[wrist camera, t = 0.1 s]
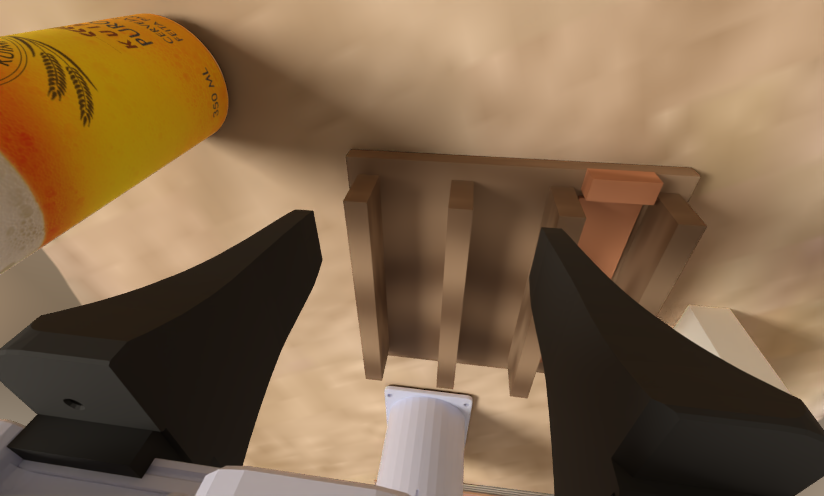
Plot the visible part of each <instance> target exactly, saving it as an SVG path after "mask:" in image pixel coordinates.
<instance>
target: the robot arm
mask: <svg viewBox="0 0 824 496" xmlns="http://www.w3.org/2000/svg"><path fill="white" fill-rule="evenodd" d="M321 263H322V255H321V249H320V244H319V238H318V233H317V228H316V222H315V217H314V212H313V211H309V210H294V211H292V212H290V213H288V214H286V215H284V216H283V217H281V218H280V219H278V220H276V221H275V222H273V223H271V224H270V225H268V226H267V227H265V228H263V229H262V230H260V231H259V232H257V233H255V234H254V235H252V236H250V237H249V238H247V239H246V240H244V241H242V242H240V243H239V244H237V245H235V246H233V247H231V248H230V249H228V250H226V251H224V252H223V253H221V254H219V255H217V256H215V257H213V258H211V259H209V260H207V261H205V262H203V263H201V264H199V265H197V266H195V267H192V268H190V269H188V270H186V271H184V272H181V273H179V274H176V275H174V276H171V277H169V278H166V279H163V280H161V281H158V282H156V283H153V284H151V285H148V286H145V287H142V288H139V289H136V290H133V291H130V292H127V293H124V294H121V295H118V296H114V297H111V298H108V299H105V300H101V301H97V302H94V303H90V304H86V305H82V306H79V307H74V308H70V309H66V310H63V311H59V312H54V313H50V314H46V315H41V316H40V317H39V318H37V319H36V320H34V321H33V322H32V323H31V324H30V325H29V326H27V327H26V328H25V329H24V330H22V331H21V332H20V333H19V334H17V335H16V336H15V337H14V338H13V339H12V340H10V341H9V342H8V343H6V344H5V345H4V346H3V347H2V348H0V381H1V382H2V383H3V384H4V385H5V386H6V387H7V388H8V389H10V390H11V391H12V392H13V393H14V394H15V395H16V396H17V397H18V398H19V399H21V400H22V401H23V402H24V403H25V404H26V405H27V406H28V407H30V408H31V409H32V410H33V411H34V412H35V413H36V414H37V415H36V416H35V417H34V419H33V420H32V421H31V422H30V423H29V424H28V425H27V426H24V425H22V424H19V423H17V422H14V421H10V420H4V419H0V496H463V473H464V448H465V443H466V437H467V432H468V426H469V420H470V414H471V408H472V403H473V399H472V397H471V396H469V395H462V394H454V393H445V392H437V391H429V390H421V389H413V388H404V387H396V386H387V387H385V403H386V415H387V431H386V436H385V441H384V446H383V451H382V457H381V462H380V467H379V472H378V477H377V483H376V485H371V484H365V483H358V482H351V481H345V480H338V479H331V478H325V477H318V476H312V475H305V474H298V473H292V472H285V471H278V470H272V469H265V468H258V467H252V466H243V462H244V459H245V455H246V452H247V448H248V445H249V441H250V438H251V435H252V432H253V429H254V426H255V422H256V419H257V416H258V413H259V410H260V407H261V404H262V401H263V398H264V395H265V393H266V390H267V387H268V384H269V381H270V378H271V376H272V373H273V370H274V368H275V365H276V363H277V360H278V357H279V355H280V352H281V350H282V348H283V346H284V343H285V341H286V339H287V337H288V335H289V333H290V331H291V329H292V328H293V326H294V324H295V322H296V320H297V318H298V316H299V314H300V312H301V310H302V308H303V306H304V304H305V302H306V300H307V298H308V296H309V295H310V293H311V291H312V288H313V286H314V284H315V281H316V278H317V276H318V273H319V270H320V266H321ZM529 288H530V302H531V309H532V314H533V319H534V324H535V329H536V334H537V338H538V343H539V348H540V353H541V357H542V362H543V367H544V373H545V379H546V387H547V397H548V407H549V418H550V431H551V443H552V459H553V475H554V494H555V496H795V495H797V494H798V493H799V492H801V491H803V490H804V489H805V488H807V487H808V486H810V485H811V484H813V483H815V482H816V481H817V480H819V479H820V478H822V477H823V476H824V430H823V428H822V427H821V426H820V424H819V423H818V422H817V420H816V419H815V418H814V416H813V415H812V413H811V412H810V411H809V409H808V408H807V407H806V405H805V404H804V403H803V402H802V400H801V399H798V398H796V397H794V396H792V395H790V394H788V393H786V392H784V391H782V390H780V389H778V388H776V387H774V386H772V385H770V384H768V383H766V382H764V381H762V380H760V379H758V378H756V377H754V376H752V375H750V374H748V373H746V372H744V371H742V370H741V369H739V368H737V367H735V366H733V365H732V364H730V363H728V362H726V361H725V360H723V359H721V358H719V357H717V356H716V355H714V354H712V353H710V352H709V351H707V350H705V349H704V348H702V347H701V346H699V345H697V344H696V343H694V342H692V341H691V340H689V339H688V338H686V337H685V336H683V335H682V334H680V333H679V332H677V331H676V330H674V329H673V328H671V327H670V326H668V325H667V324H665V323H664V322H662V321H661V320H660V319H658V318H657V317H655V316H654V315H653V314H652V313H650V312H649V311H648V310H646V309H645V308H644V307H642V306H641V305H640V304H639V303H637V302H636V301H635V300H634V299H632V298H631V297H630V296H629V295H628V294H626V293H625V292H624V291H623V290H622V289H621V288H620V287H619V286H618V285H616V284H615V283H614V282H613V281H612V280H611V279H610V278H609V277H608V276H607V275H606V274H605V273H604V272H603V271H602V270H601V269H600V268H599V267H598V266H597V265H596V264H595V263H594V262H593V261H592V260H591V259H590V258H589V257H588V256H587V255H586V254H585V253H584V252H583V251H582V250H581V248H580V247H579V246H578V245H577V244H576V243H575V242H574V241H573V240H572V239H571V237H570V236H569V235H568V234H567V233H566V232H565V231H564V230H563V229H562V228H548V227H541V230H540V234H539V238H538V243H537V247H536V251H535V255H534V259H533V263H532V267H531V271H530V275H529Z"/></svg>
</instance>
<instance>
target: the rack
mask: <svg viewBox="0 0 824 496" xmlns="http://www.w3.org/2000/svg"><path fill="white" fill-rule="evenodd" d="M346 162H347V171H348V180H349V189H350V190H349V192H348V193H347V195H346V197H345V199H344V201H343V203H344V211H345V218H346V226H347V234H348V242H349V250H350V258H351V266H352V273H353V281H354V289H355V297H356V305H357V313H358V320H359V328H360V336H361V344H362V352H363V360H364V368H365V375H366V379H372V380H381V381H382V378H383V374H384V369H385V365H386V361H387V356H388V355H390V356H399V357H408V358H417V359H425V360H434V361H438V372H437V387H439V388H447V389H453V387H454V378H455V369H456V363H461V364H470V365H478V366H487V367H496V368H505V369H508V375H509V389H510V396H513V397H521V398H528V395H529V392H530V389H531V386H532V383H533V380H534V377H535V374H536V372H540V373H544V367H543V362H542V357H541V353H540V348H539V343H538V338H537V334H536V329H535V324H534V319H533V314H532V309H531V302H530V288H529V275H530V271H531V267H532V263H533V259H534V255H535V251H536V247H537V243H538V238H539V234H540V230H541V227H548V228H562V229H563V230H564V231H565V232H566V233H567V234H568V235H569V236H570V237H571V239H572V240H573V241H574V242H575V243H576V244H577V245H578V246H579V247H580V248H581V250H582V251H583V252H584V253H585V254H586V255H587V256H588V257H589V258H590V259H591V260H592V261H593V262H594V263H595V264H596V265H597V266H598V267H599V268H600V269H601V270H602V271H603V272H604V273H605V274H606V275H607V276H608V277H609V278H610V279H611V280H612V281H613V282H614V283H615V284H616V285H618V286H619V287H620V288H621V289H622V290H623V291H624V292H625V293H626V294H628V295H629V296H630V297H631V298H632V299H634V300H635V301H636V302H637V303H639V304H640V305H641V306H642V307H644V308H645V309H646V310H648V311H649V312H650V313H652V314H653V315H654V316H655V317H656V316H657V314H658V313H659V311H660V309H661V307H662V305H663V304H664V302H665V300H666V298H667V297H668V295H669V293H670V291H671V290H672V288H673V286H674V284H675V282H676V281H677V279H678V277H679V275H680V274H681V272H682V270H683V268H684V266H685V265H686V263H687V261H688V259H689V258H690V256H691V254H692V252H693V250H694V249H695V247H696V245H697V243H698V242H699V240H700V238H701V236H702V234H703V233H704V231H705V229H706V227H707V226H706V224H705V223H704V222H703V221H702V220H701V219H700V217H699V216H698V215H697V214H696V213H695V212H694V210H693V209H692V208H691V207H690V206H689V205H688V201H689V199H690V197H691V195H692V193H693V191H694V189H695V187H696V185H697V183H698V181H699V179H700V177H701V176H700V175H699V174H698V173H697V172H696V171H695V170H693V169H692V168H687V167H668V166H650V165H631V164H613V163H594V162H576V161H557V160H539V159H520V158H502V157H483V156H465V155H446V154H428V153H409V152H391V151H372V150H354V149H351V150H350V151H349V153H348V154H347V156H346Z"/></svg>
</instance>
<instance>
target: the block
mask: <svg viewBox="0 0 824 496" xmlns="http://www.w3.org/2000/svg"><path fill="white" fill-rule="evenodd" d="M674 330H676V331H677V332H679V333H680V334H682V335H683V336H685V337H686V338H688V339H689V340H691V341H692V342H694V343H696V344H697V345H699V346H701V347H702V348H704V349H705V350H707V351H709V352H710V353H712V354H714V355H716V356H717V357H719V358H721V359H723V360H725V361H726V362H728V363H730V364H732V365H733V366H735V367H737V368H739V369H741V370H742V371H744V372H746V373H748V374H750V375H752V376H754V377H756V378H758V379H760V380H762V381H764V382H766V383H768V384H770V385H772V386H774V387H776V388H778V389H780V390H782V391H784V392H786V393H788V394H790V395H792V394H791V393H790V392H789V390H788V389H787V387H786V386H785V385H784V383H783V382H782V380H781V379H780V378H779V376H778V375H777V374H776V372H775V371H774V369H773V368H772V367H771V365H770V364H769V362H768V361H767V360H766V358H765V357H764V355H763V354H762V353H761V351H760V350H759V349H758V347H757V346H756V344H755V343H754V342H753V340H752V339H751V337H750V336H749V335H748V333H747V332H746V330H745V329H744V328H743V326H742V325H741V324H740V322H739V321H738V319H737V318H736V317H735V315H734V314H733V312H732V311H731V310H730V308H720V307H708V306H697V305H688V306H687V308H686V309H685V311H684V312H683V314H682V316H681V317H680V319H679V321H678V322H677V324H676V325H675V327H674Z"/></svg>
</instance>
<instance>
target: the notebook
mask: <svg viewBox="0 0 824 496" xmlns="http://www.w3.org/2000/svg"><path fill="white" fill-rule="evenodd" d="M376 483H377V480H375V485H376ZM463 496H555V495H554V494H546V493H538V492H530V491H522V490H514V489H507V488H499V487H491V486H483V485H480V486H477V485H469V484H463Z"/></svg>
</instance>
